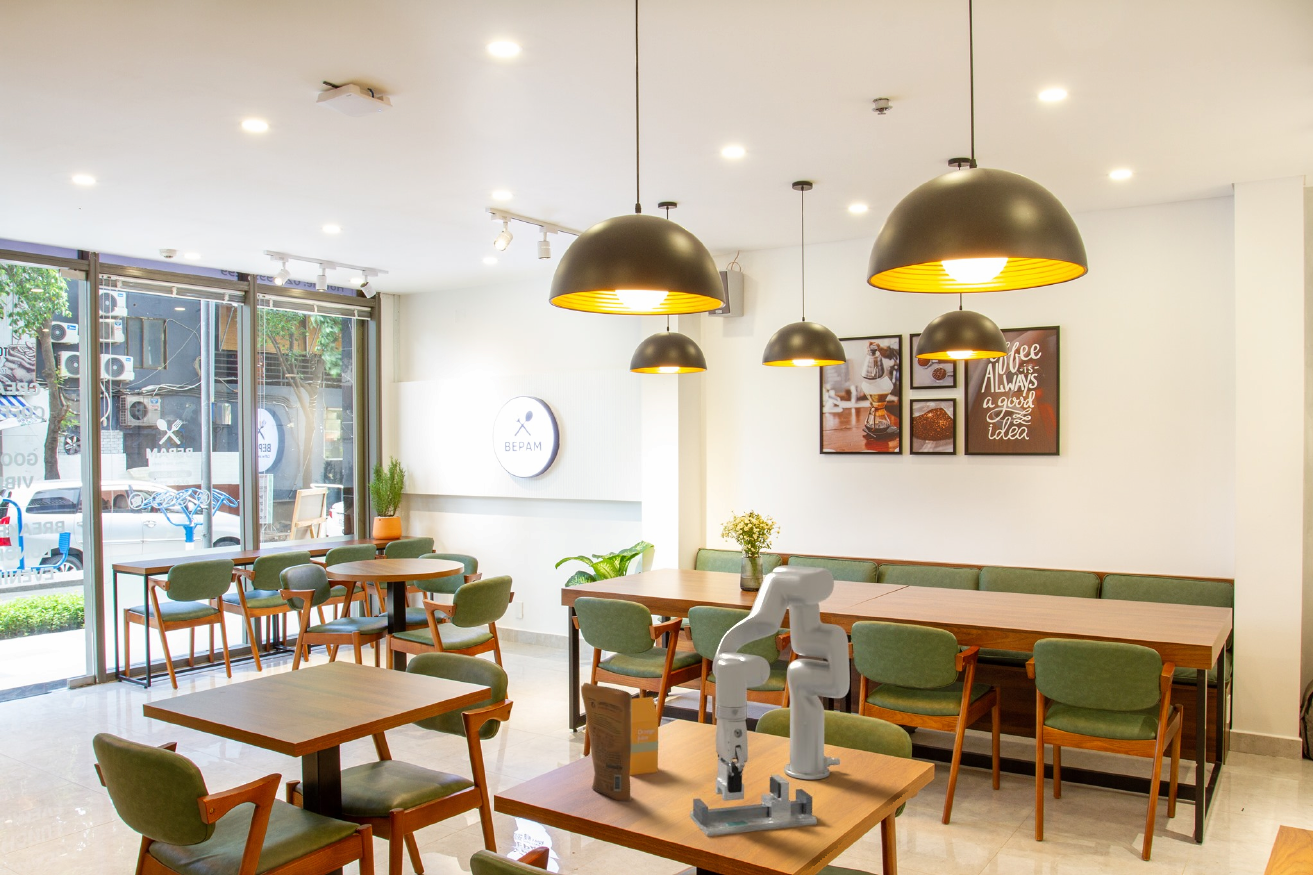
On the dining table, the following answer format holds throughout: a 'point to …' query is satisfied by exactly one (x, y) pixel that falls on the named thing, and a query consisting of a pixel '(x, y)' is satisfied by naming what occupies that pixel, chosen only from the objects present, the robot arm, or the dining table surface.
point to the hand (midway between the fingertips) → (729, 786)
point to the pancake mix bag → (609, 738)
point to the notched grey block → (726, 782)
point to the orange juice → (644, 736)
